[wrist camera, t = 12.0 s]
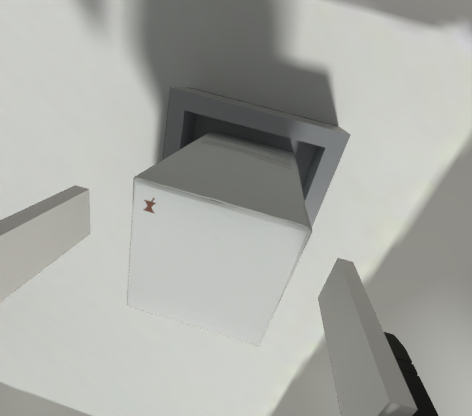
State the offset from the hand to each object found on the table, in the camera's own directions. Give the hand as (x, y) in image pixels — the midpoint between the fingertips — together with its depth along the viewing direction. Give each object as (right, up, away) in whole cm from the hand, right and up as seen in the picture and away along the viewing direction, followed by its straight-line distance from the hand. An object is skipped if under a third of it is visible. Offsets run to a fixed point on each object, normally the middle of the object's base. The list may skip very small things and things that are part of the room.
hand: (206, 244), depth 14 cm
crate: (+2, +5, +10) cm, 11 cm away
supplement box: (+2, +4, +9) cm, 11 cm away
